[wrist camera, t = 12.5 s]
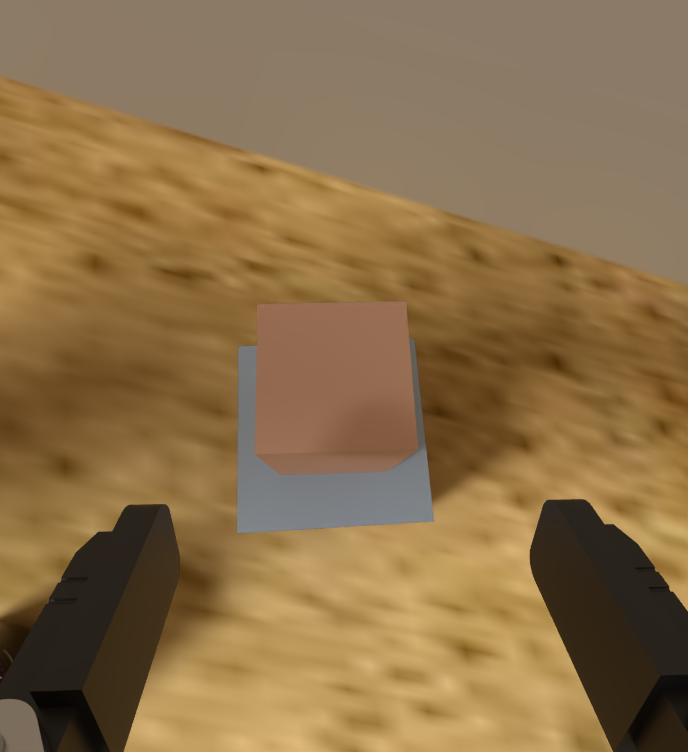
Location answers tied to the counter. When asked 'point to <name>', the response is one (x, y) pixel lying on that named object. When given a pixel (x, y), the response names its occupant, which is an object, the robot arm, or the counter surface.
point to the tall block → (334, 387)
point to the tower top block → (324, 478)
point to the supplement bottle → (10, 644)
